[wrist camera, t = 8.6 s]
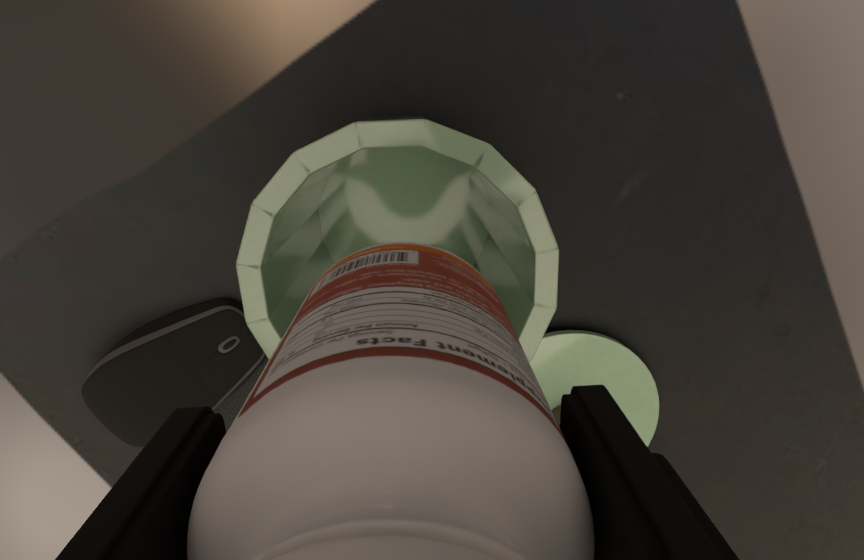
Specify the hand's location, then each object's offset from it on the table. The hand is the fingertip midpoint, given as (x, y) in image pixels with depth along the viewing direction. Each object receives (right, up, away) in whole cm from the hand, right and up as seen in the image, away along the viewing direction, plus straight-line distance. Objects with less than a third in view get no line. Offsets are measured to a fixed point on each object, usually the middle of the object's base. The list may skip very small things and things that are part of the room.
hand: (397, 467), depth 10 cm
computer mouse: (-16, -2, +24) cm, 29 cm away
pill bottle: (0, +2, +6) cm, 6 cm away
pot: (-1, +7, +21) cm, 22 cm away
